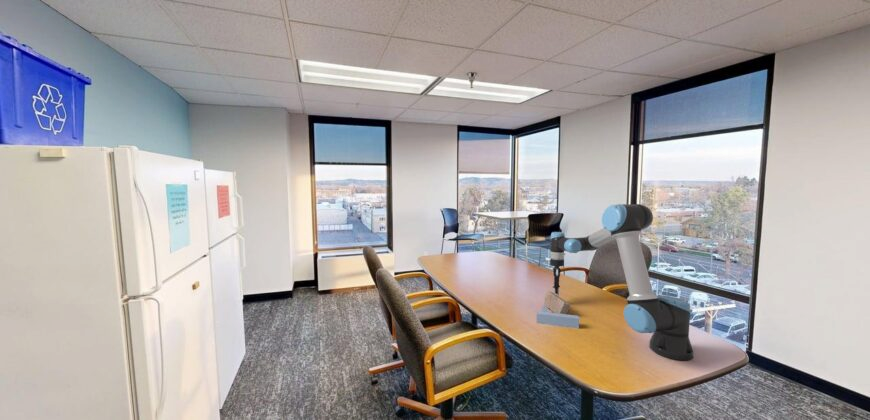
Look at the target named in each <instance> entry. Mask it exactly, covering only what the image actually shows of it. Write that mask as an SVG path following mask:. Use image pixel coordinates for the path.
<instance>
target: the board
mask: <svg viewBox="0 0 870 420" xmlns="http://www.w3.org/2000/svg"><path fill="white" fill-rule="evenodd" d="M541 307H542V308H541V310H536V324H539V323H540V325H547V324H548V326H556V327H562V326H563V327H565V328H570V327H571V329H578V328H579V329H580V317H579V315H576V314H575V315H574V314H568V313H567V314H559V313H554V312H551V311H550V312H549V308H548V307H547V306H545V305H544V306H543V305H542V306H541Z"/></svg>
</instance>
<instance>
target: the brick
mask: <svg viewBox="0 0 870 420" xmlns="http://www.w3.org/2000/svg"><path fill="white" fill-rule="evenodd" d="M543 305H544V307H548V309H550V310H551V312H552V313H559V314H567V315H568V312H569V311H570V308H571V303H569V302H567V301H566V300H565V299H563V298H562V297H560V295H559V296H557V295H556V294H554V291H549V290H548V291H546V294H545V297H544V299H543Z"/></svg>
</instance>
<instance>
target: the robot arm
mask: <svg viewBox="0 0 870 420" xmlns="http://www.w3.org/2000/svg"><path fill="white" fill-rule="evenodd" d="M653 221H654V215H653V212H652V210H651V209H650V208H649V207H648V206H646V205H644V204H638V203H633V204H632V203H631V204H629V203H628V204H626V203H625V204H621V203H618V204H612V205H610V206H607V207H606V208H605V210H604V212H603V213H602V215H601V223H602V226H603V228H602V229H600V230H596V232H593V233H592V234H589V235H587V236H585V237H567V236H566V235H565V233H564V232H561V231H552V232H551V234H550V252H549V254H550V256H549V257H550V259H549V261H550V262H549V264H550V266H552V267H553V268H552V271H553V277H554V278H553V280H554V281H553V286H552V288H553V293H554V294H556V295H557V296H559V297H560V288H561V287H560V276H561V268H560V267H564V265H565V259H564V258H565V255H566V253H565V252H568V253H570V254H571V253H572V254H577V253H579V252H587V251H591V252H592V251H597V250H599V249H600V247H601V246H603V245H605V244H608V243H610V242H612V241H614V240H616V245H617V248H618V253H619V257H620V261H621V264H622V269H623V273H624V277H625V280H626V286H627V291H628V293H629V295H628V296H627V298H626V303H627V305H625V307H624V309H623V317H624V320H625V322H626V324H627V325H628V326H629V327H630V328H632V330H633V331H635V332H637V333H639V334H652V335H651V337H650V340H649V345H648V346H649V348H650V350H651V351H653V352H654V353H655V354H658V355H660V356H662V357H665V358H668V359H673V360H679V361H688V360H692V359H693V358H694V349H693V346H692V342H691V340H690V336H689V335H690V321H691V319H690V318H691V305H690V303H689V301H686V300H684V299H682V298H678V297H674V296H670V295H664V294H662V295H661V294H659V295H656V294H655V293H654V291H653V288H652V284H651V279H650V276H649V271H648V268H647V264H646V261H645V256H644V253H643V248H642V245H641V241H640V238H639V237H640V235H641V233H642V231H643V230H645V229H647V228H649V227H650V226H651V225H652V223H653Z"/></svg>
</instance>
